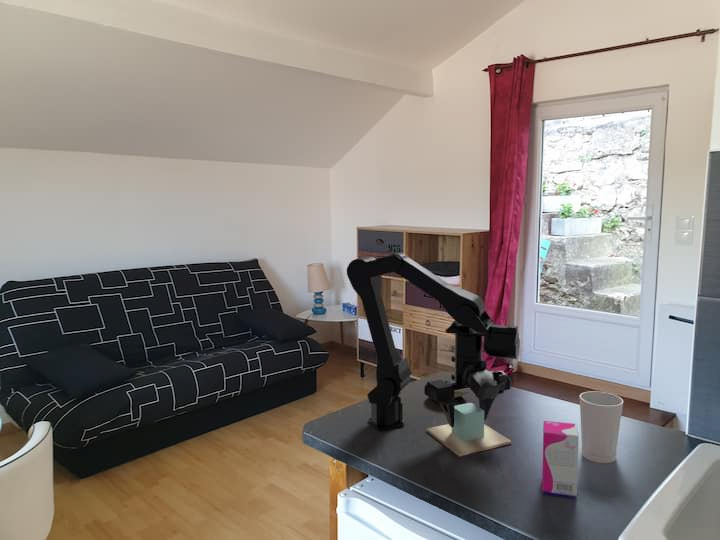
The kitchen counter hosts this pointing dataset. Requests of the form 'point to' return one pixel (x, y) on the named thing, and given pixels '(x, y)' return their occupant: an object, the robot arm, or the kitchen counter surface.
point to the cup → (600, 425)
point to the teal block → (468, 422)
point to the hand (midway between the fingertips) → (467, 423)
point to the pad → (468, 447)
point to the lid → (461, 393)
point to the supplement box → (560, 459)
